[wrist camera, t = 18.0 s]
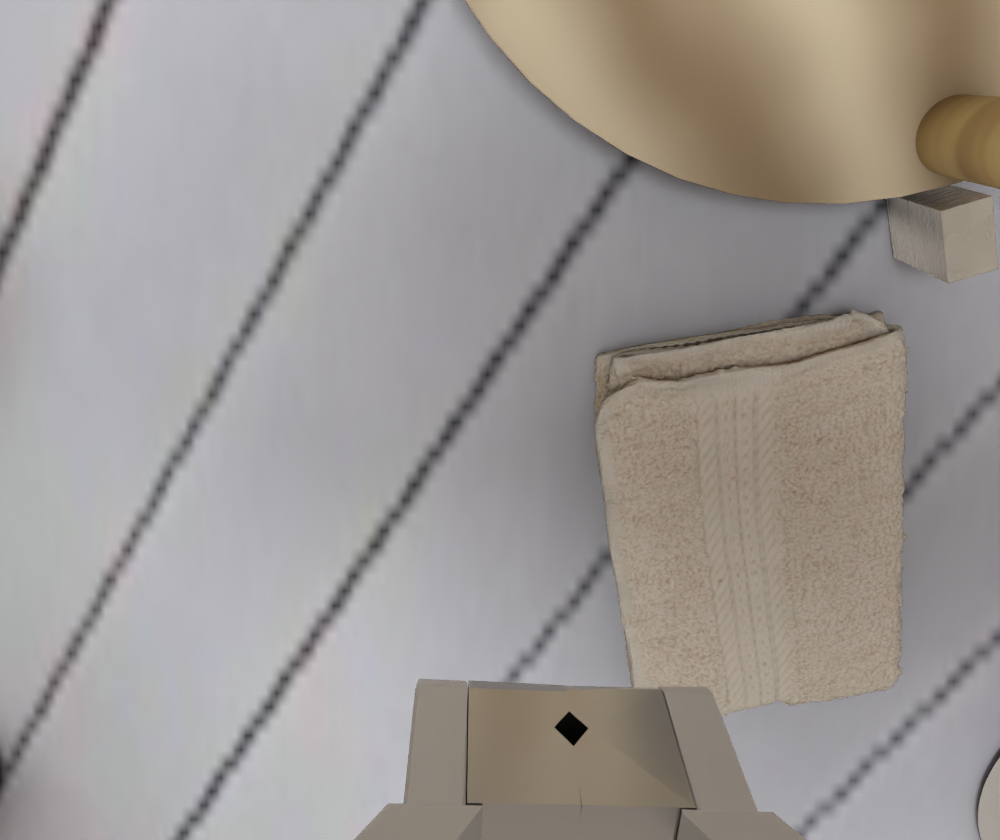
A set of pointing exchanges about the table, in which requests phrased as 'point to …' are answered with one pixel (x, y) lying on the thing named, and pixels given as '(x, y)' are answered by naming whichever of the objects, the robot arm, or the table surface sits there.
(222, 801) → the table surface
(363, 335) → the table surface
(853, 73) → the turntable
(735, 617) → the washcloth
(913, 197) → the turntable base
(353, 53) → the table surface
